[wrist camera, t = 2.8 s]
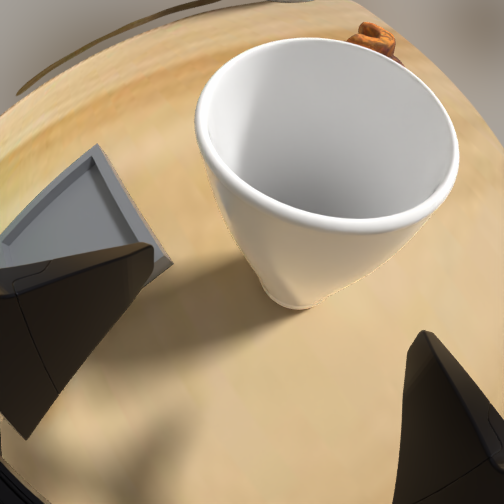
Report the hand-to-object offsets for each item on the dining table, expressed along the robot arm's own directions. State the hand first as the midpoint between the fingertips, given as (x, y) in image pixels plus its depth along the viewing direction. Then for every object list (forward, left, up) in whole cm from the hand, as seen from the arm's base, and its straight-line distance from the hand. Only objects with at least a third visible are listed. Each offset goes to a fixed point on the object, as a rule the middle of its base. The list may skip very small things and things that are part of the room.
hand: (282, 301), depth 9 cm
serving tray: (-11, +15, -11) cm, 21 cm away
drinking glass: (+3, +2, -11) cm, 12 cm away
